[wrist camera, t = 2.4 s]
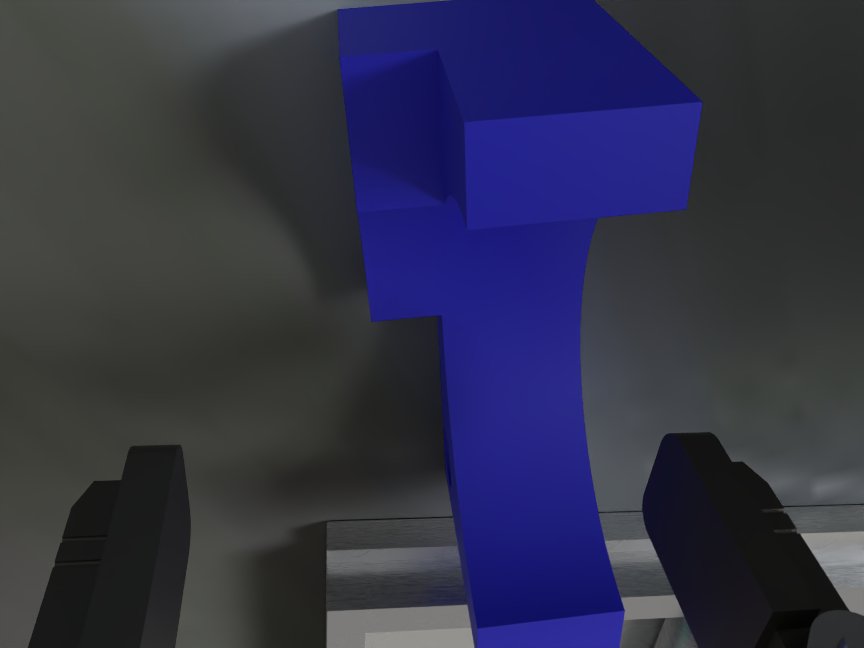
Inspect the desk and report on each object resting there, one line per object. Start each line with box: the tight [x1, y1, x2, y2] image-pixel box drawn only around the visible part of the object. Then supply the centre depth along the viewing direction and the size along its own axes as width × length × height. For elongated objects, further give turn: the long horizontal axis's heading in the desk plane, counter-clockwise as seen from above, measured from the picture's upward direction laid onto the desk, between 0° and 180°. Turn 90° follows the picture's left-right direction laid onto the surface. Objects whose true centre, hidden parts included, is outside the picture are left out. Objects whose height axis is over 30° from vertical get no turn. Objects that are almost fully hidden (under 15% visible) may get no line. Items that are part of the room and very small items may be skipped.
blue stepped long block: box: [338, 0, 703, 648], centre depth 16 cm, size 12×4×6 cm, turn 3°
